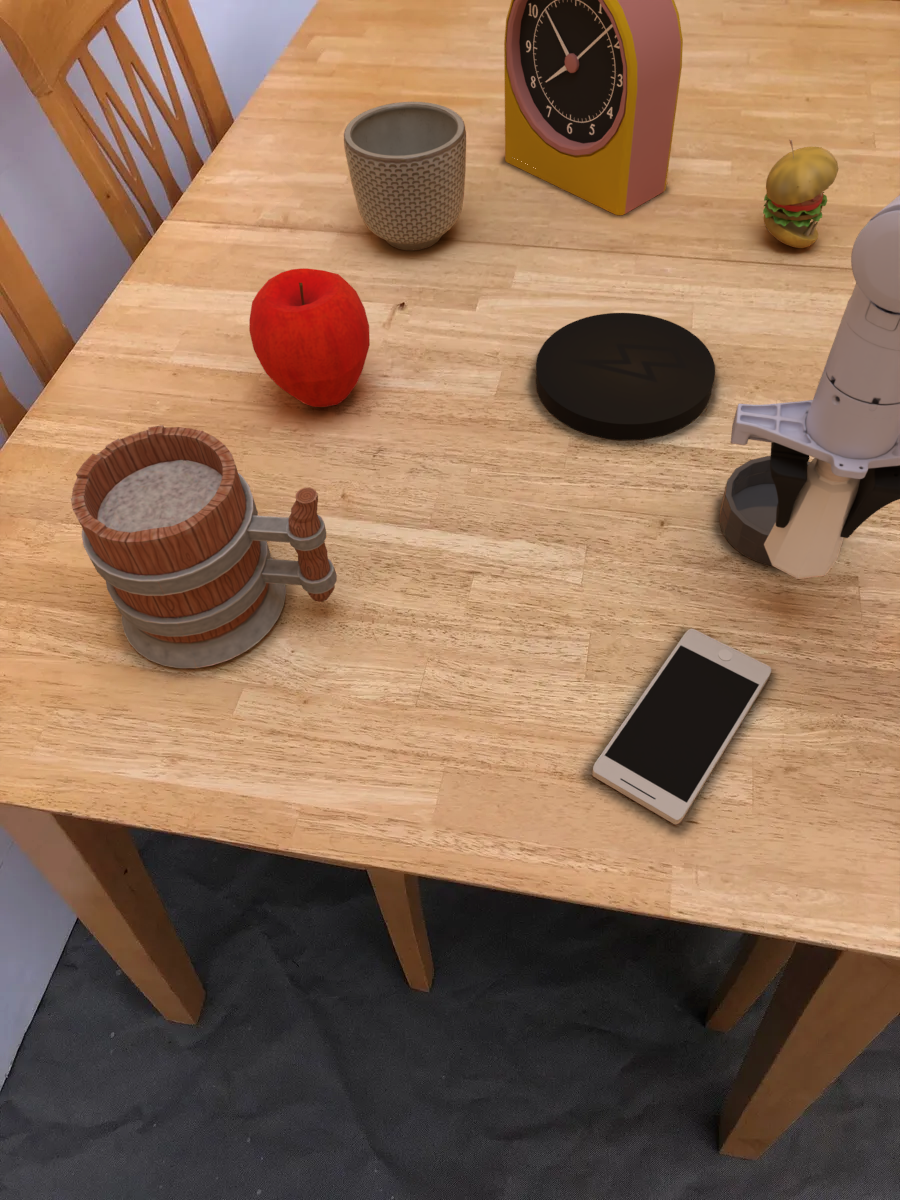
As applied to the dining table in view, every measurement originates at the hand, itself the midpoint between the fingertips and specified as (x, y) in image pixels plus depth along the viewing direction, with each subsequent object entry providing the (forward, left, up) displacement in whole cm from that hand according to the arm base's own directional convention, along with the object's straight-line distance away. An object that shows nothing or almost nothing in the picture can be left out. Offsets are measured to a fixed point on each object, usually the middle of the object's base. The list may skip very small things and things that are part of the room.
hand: (811, 522), depth 68 cm
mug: (+45, +9, -11) cm, 47 cm away
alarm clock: (+28, -68, -11) cm, 74 cm away
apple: (+47, -19, -11) cm, 51 cm away
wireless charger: (+17, -27, -11) cm, 33 cm away
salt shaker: (0, 0, -4) cm, 4 cm away
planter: (+46, -50, -11) cm, 68 cm away
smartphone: (+6, +13, -11) cm, 18 cm away
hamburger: (+2, -56, -11) cm, 57 cm away
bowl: (+1, -10, -10) cm, 14 cm away
